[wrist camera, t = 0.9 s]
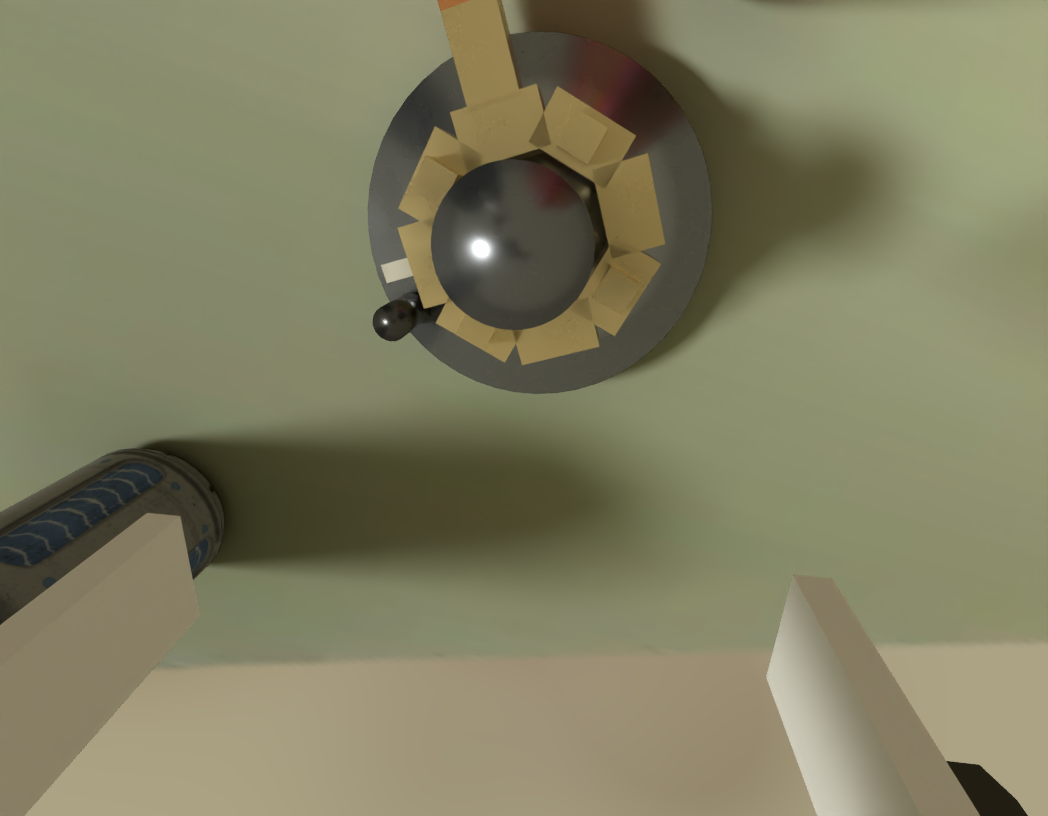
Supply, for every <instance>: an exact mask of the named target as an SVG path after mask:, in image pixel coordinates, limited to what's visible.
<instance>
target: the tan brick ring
mask: <svg viewBox="0 0 1048 816" xmlns="http://www.w3.org/2000/svg"><path fill="white" fill-rule="evenodd" d="M438 4H439V7H440V11H441V15H442V18H443V22H444V26H445V29H446V33H447V36H448V40H449V44H450V47H451V51H452V55H453V58H454V62H455V65H456V69H457V73H458V76H459V80H460V83H461V87H462V91H463V94H464V98H465V102H466V105H467V107H465V108H462V109H459V110H456V111H453V112H450V114H451V118H452V121H453V125H454V128H455V132H456V135H457V137H456V136H455V135H453V134H451V133H450V132H447V131H445V130H443V129H440V128H438V127H436V126H435V127H434V130H433V132H432V134H431V136H430V139H429V141H428V143H427V145H426V147H425V150H424V152H423V154H422V156H421V158H420V161H419V163H418V165H417V167H416V170H415V172H414V174H413V176H412V178H411V181H410V183H409V185H408V187H407V190H406V192H405V194H404V196H403V198H402V201H401V203H400V205H399V207H398V208H399V209H400V210H402V211H404V212H405V213H407V214H409V215H410V216H412V217H414V218H415V219H417V220H419V222H416V223H412V224H409V225H406V226H402V227H399V228H398V232H399V235H400V238H401V241H402V244H403V247H404V250H405V253H406V256H407V259H408V262H409V265H410V268H411V271H412V274H413V277H414V280H415V283H416V286H417V289H418V292H419V295H420V298H421V301H422V304H423V307H424V309H425V308H429V307H432V306H436V305H440V304H444V303H446V304H445V306H444V308H443V310H442V312H441V314H440V315H439V317H438V319H437V321H436V323H437V324H438V325H440V326H442V327H443V328H445V329H447V330H449V331H450V332H452V333H454V334H456V335H457V336H459V337H461V338H463V339H464V340H466V341H468V342H470V343H471V344H473V345H475V346H477V347H478V348H480V349H482V350H483V351H485V352H487V353H489V354H490V355H492V356H494V357H496V358H497V359H499V360H501V361H503V362H504V363H505V361H506V360H507V358H508V356H509V355H510V353H511V351H512V349H513V348H514V346H515V344H516V345H517V349H518V352H519V356H520V359H521V363H522V365H525V364H530V363H534V362H538V361H542V360H546V359H550V358H555V357H559V356H563V355H567V354H571V353H575V352H580V351H584V350H588V349H592V348H596V347H600V346H599V333H598V329H597V326H598V327H600V328H602V329H603V330H605V331H607V332H608V333H610V334H612V335H614V336H615V335H616V333H617V332H618V330H619V329H620V327H621V325H622V324H623V322H624V321H625V319H626V318H627V316H628V315H629V313H630V312H631V310H632V308H633V307H634V305H635V304H636V302H637V301H638V299H639V298H640V296H641V295H642V293H643V291H644V290H645V288H646V287H647V285H648V284H649V282H650V281H651V279H652V278H653V276H654V274H655V273H656V271H657V270H658V268H659V267H660V265H661V263H660V262H659V261H658V260H657V259H656V258H655V257H653V256H652V255H650V254H648V253H647V252H645V251H643V250H646V249H649V248H653V247H657V246H660V245H664V244H665V240H664V235H663V230H662V225H661V219H660V214H659V209H658V204H657V198H656V193H655V188H654V183H653V177H652V172H651V167H650V162H649V156H648V153H647V154H644V155H640V156H637V157H634V158H630V159H627V160H624V161H622V159H623V158H624V156H625V154H626V153H627V151H628V149H629V147H630V146H631V144H632V142H633V140H634V139H635V137H636V135H635V134H633V133H631V132H630V131H628V130H627V129H625V128H623V127H622V126H620V125H619V124H617V123H615V122H614V121H612V120H611V119H609V118H607V117H606V116H604V115H603V114H601V113H600V112H598V111H596V110H595V109H593V108H592V107H590V106H588V105H587V104H585V103H584V102H582V101H580V100H579V99H577V98H576V97H574V96H572V95H571V94H569V93H568V92H566V91H565V90H563V89H561V88H560V87H558V86H557V88H556V90H555V92H554V93H553V95H552V97H551V99H550V101H549V103H548V105H547V107H546V109H545V105H544V101H543V97H542V94H541V91H540V89H539V87H538V85H537V84H534V85H531V86H528V87H525V88H523V86H522V82H521V78H520V74H519V70H518V66H517V62H516V57H515V53H514V49H513V45H512V41H511V37H510V33H509V29H508V25H507V21H506V17H505V13H504V9H503V5H502V1H501V0H438ZM541 153H546V154H547V155H549V156H551V157H552V158H554V159H556V160H557V161H559V162H560V163H562V164H564V165H565V166H567V167H569V168H570V169H572V170H573V171H575V172H577V173H578V174H580V175H582V176H583V177H585V178H586V179H588V180H590V181H591V182H593V183H594V184H595V189H596V193H597V198H598V202H599V207H600V211H601V216H602V221H603V225H604V230H605V234H606V239H607V243H606V244H605V246H604V248H603V249H602V251H601V253H600V254H599V256H598V258H597V259H596V261H595V263H594V264H593V266H592V270H591V273H590V276H589V278H588V281H587V283H586V285H585V287H584V289H583V291H582V292H581V294H580V295H579V297H578V298H577V299H576V301H575V302H574V303H573V304H572V305H571V306H570V307H569V308H568V309H567V310H566V311H565V312H563V313H562V314H561V315H560V316H558V317H556V318H555V319H553V320H552V321H550V322H547V323H545V324H543V325H540V326H537V327H534V328H529V329H524V330H505V329H499V328H494V327H491V326H488V325H485V324H482V323H480V322H478V321H476V320H474V319H473V318H471V317H470V316H468V315H467V314H465V313H464V312H463V311H462V310H461V309H459V308H458V307H457V306H456V305H455V304H454V303H453V301H452V300H451V299H450V298H449V297H448V295H447V294H446V292H445V291H444V289H443V287H442V285H441V284H440V282H439V280H438V277H437V274H436V272H435V269H434V265H433V261H432V254H431V233H432V226H433V222H434V218H435V215H436V212H437V210H438V207H439V205H440V203H441V202H442V200H443V198H444V196H445V195H446V194H447V192H448V191H449V190H450V188H451V187H452V186H453V185H454V184H455V183H456V182H457V181H458V180H459V179H460V178H461V177H463V176H464V175H465V174H467V173H468V172H470V171H471V170H473V169H475V168H477V167H479V166H481V165H484V164H486V163H490V162H494V161H498V160H508V159H513V160H521V159H525V158H528V157H531V156H534V155H538V154H541Z"/></svg>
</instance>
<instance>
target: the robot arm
mask: <svg viewBox="0 0 1048 816" xmlns="http://www.w3.org/2000/svg"><path fill="white" fill-rule="evenodd" d="M199 617H200V613H199V608H198V603H197V598H196V593H195V588H194V583H193V578H192V573H191V568H190V563H189V558H188V553H187V548H186V543H185V538H184V533H183V528H182V523H181V518H180V516H174V515H164V514H154V513H146V514H145V515H144V516H142V517H141V518H140V519H139V520H137V521H136V522H135V523H133V524H132V525H131V526H129V527H128V528H127V529H125V530H124V531H123V532H121V533H120V534H119V535H118V536H116V537H115V538H114V539H112V540H111V541H110V542H108V543H107V544H106V545H104V546H103V547H102V548H100V549H99V550H98V551H97V552H95V553H94V554H93V555H91V556H90V557H89V558H87V559H86V560H85V561H83V562H82V563H81V564H80V565H78V566H77V567H76V568H74V569H73V570H72V571H70V572H69V573H68V574H66V575H65V576H64V577H62V578H61V579H60V580H59V581H57V582H56V583H55V584H53V585H52V586H51V587H49V588H48V589H47V590H45V591H44V592H43V593H41V594H40V595H39V596H38V597H36V598H35V599H34V600H32V601H31V602H30V603H28V604H27V605H26V606H24V607H23V608H22V609H21V610H19V611H18V612H17V613H15V614H14V615H13V616H11V617H10V618H9V619H7V620H6V621H5V622H3V623H2V624H1V625H0V816H24V815H25V814H26V813H27V812H28V811H29V810H30V809H31V808H32V806H33V805H34V804H35V803H36V802H37V801H38V800H39V798H40V797H41V796H42V795H43V794H44V793H45V792H46V791H47V789H48V788H49V787H50V786H51V785H52V784H53V783H54V781H55V780H56V779H57V778H58V777H59V776H60V775H61V773H62V772H63V771H64V770H65V769H66V768H67V767H68V765H69V764H70V763H71V762H72V761H73V760H74V759H75V758H76V756H77V755H78V754H79V753H80V752H81V751H82V749H83V748H84V747H85V746H86V745H87V744H88V743H89V742H90V740H91V739H92V738H93V737H94V736H95V735H96V734H97V733H98V731H99V730H100V729H101V728H102V727H103V725H105V723H106V722H107V721H108V720H109V719H110V718H111V717H112V716H113V714H114V713H115V712H116V711H117V710H118V709H119V708H120V706H121V705H122V704H123V703H124V702H125V701H126V699H127V698H128V697H129V696H130V695H131V694H132V693H133V692H134V690H135V689H136V688H137V687H138V686H139V685H140V684H141V683H142V681H143V680H144V679H145V678H146V677H147V676H148V674H149V673H150V672H151V671H152V670H153V669H154V668H155V667H156V666H157V664H158V663H159V662H160V661H161V660H162V659H163V658H164V656H165V655H166V654H167V653H168V652H169V651H170V650H171V648H172V647H173V646H174V645H175V644H176V643H177V642H178V641H179V639H180V638H181V637H182V636H183V635H184V634H185V633H186V631H187V630H188V629H189V628H190V627H191V626H192V625H193V623H194V622H195V621H196V620H197V619H198V618H199ZM766 678H767V680H768V683H769V686H770V689H771V691H772V694H773V697H774V700H775V702H776V705H777V708H778V710H779V713H780V716H781V718H782V721H783V724H784V727H785V729H786V732H787V735H788V737H789V740H790V743H791V746H792V748H793V751H794V754H795V757H796V759H797V762H798V765H799V767H800V770H801V773H802V776H803V778H804V781H805V784H806V787H807V789H808V792H809V795H810V797H811V800H812V803H813V805H814V808H815V811H816V814H817V816H1028V815H1027V814H1026V813H1025V811H1024V810H1023V808H1022V807H1021V805H1020V804H1019V802H1018V801H1017V800H1016V799H1015V798H1014V797H1013V796H1012V795H1011V794H1010V793H1009V792H1008V791H1007V790H1006V789H1004V788H1003V787H1002V786H1001V785H1000V784H999V783H998V782H997V781H996V780H995V779H994V778H993V777H992V776H991V775H989V774H988V773H987V772H986V771H985V770H984V769H983V768H982V767H981V766H980V765H976V764H967V763H958V762H950V761H946V760H945V759H944V757H943V756H942V754H941V752H940V751H939V749H938V747H937V746H936V744H935V743H934V741H933V739H932V738H931V736H930V735H929V733H928V731H927V730H926V728H925V727H924V725H923V724H922V722H921V720H920V719H919V717H918V715H917V714H916V712H915V711H914V709H913V707H912V706H911V704H910V703H909V701H908V699H907V698H906V696H905V694H904V693H903V691H902V690H901V688H900V686H899V685H898V683H897V682H896V680H895V678H894V677H893V675H892V674H891V672H890V670H889V669H888V667H887V666H886V664H885V662H884V661H883V659H882V658H881V656H880V654H879V653H878V651H877V650H876V648H875V646H874V645H873V643H872V642H871V640H870V638H869V637H868V635H867V634H866V632H865V630H864V629H863V627H862V626H861V624H860V622H859V621H858V619H857V618H856V616H855V614H854V613H853V611H852V610H851V608H850V606H849V605H848V603H847V601H846V600H845V598H844V597H843V595H842V593H841V592H840V590H839V589H838V587H837V585H836V584H835V582H834V581H833V579H832V578H822V577H812V576H801V575H793V578H792V582H791V585H790V589H789V593H788V597H787V601H786V604H785V608H784V612H783V616H782V620H781V623H780V627H779V631H778V635H777V639H776V642H775V646H774V650H773V654H772V657H771V661H770V665H769V669H768V673H767V677H766Z"/></svg>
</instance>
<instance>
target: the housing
mask: <svg viewBox="0 0 1048 816" xmlns="http://www.w3.org/2000/svg"><path fill="white" fill-rule="evenodd" d="M510 37H511V41H512V45H513V49H514V53H515V57H516V62H517V66H518V70H519V74H520V78H521V82H522V86H523V88H525V87H528V86H531V85H534V84H537V85H538V87H539V89H540V91H541V94H542V97H543V101H544V105H545V109H546V107H547V105H548V103H549V101H550V99H551V97H552V95H553V93H554V92H555V90H556V88H557V86H558V87H560V88H561V89H563V90H565V91H566V92H568V93H569V94H571V95H572V96H574V97H576V98H577V99H579V100H580V101H582V102H584V103H585V104H587V105H588V106H590V107H592V108H593V109H595V110H596V111H598V112H600V113H601V114H603V115H604V116H606V117H607V118H609V119H611V120H612V121H614V122H615V123H617V124H619V125H620V126H622V127H623V128H625V129H627V130H628V131H630V132H631V133H633V134H635V135H636V137H635V139H634V140H633V142H632V144H631V146H630V147H629V149H628V151H627V153H626V154H625V156H624V158H623V159H622V161H624V160H627V159H630V158H634V157H637V156H640V155H644V154H647V153H648V156H649V162H650V167H651V172H652V177H653V183H654V188H655V193H656V198H657V204H658V209H659V214H660V219H661V225H662V230H663V235H664V240H665V244H664V245H660V246H657V247H653V248H649V249H646V250H643V251H645V252H647V253H648V254H650V255H652V256H653V257H655V258H656V259H657V260H658V261H659V262H660V263H661V265H660V267H659V268H658V270H657V271H656V273H655V274H654V276H653V278H652V279H651V281H650V282H649V284H648V285H647V287H646V288H645V290H644V291H643V293H642V295H641V296H640V298H639V299H638V301H637V302H636V304H635V305H634V307H633V308H632V310H631V312H630V313H629V315H628V316H627V318H626V319H625V321H624V322H623V324H622V325H621V327H620V329H619V330H618V332H617V333H616V335H615V336H614V335H612V334H610V333H608V332H607V331H605V330H603V329H602V328H600V327H598V326H597V329H598V333H599V346H600V347H596V348H592V349H588V350H584V351H580V352H575V353H571V354H567V355H563V356H559V357H555V358H550V359H546V360H542V361H538V362H534V363H530V364H525V365H522V363H521V359H520V356H519V352H518V349H517V345H516V344H515V346H514V348H513V349H512V351H511V353H510V355H509V356H508V358H507V360H506V361H505V363H504V362H503V361H501V360H499V359H497V358H496V357H494V356H492V355H490V354H489V353H487V352H485V351H483V350H482V349H480V348H478V347H477V346H475V345H473V344H471V343H470V342H468V341H466V340H464V339H463V338H461V337H459V336H457V335H456V334H454V333H452V332H450V331H449V330H447V329H445V328H443V327H442V326H440V325H438V324H437V323H436V321H437V319H438V317H439V315H440V314H441V312H442V310H443V308H444V306H445V304H446V303H444V304H440V305H436V306H432V307H429V308H425V309H424V307H423V304H422V301H421V298H420V295H419V292H418V289H417V286H416V283H415V280H414V277H413V274H412V271H411V268H410V265H409V262H408V259H407V256H406V253H405V250H404V247H403V244H402V241H401V238H400V235H399V232H398V228H399V227H402V226H406V225H409V224H412V223H416V222H419V220H417V219H415V218H414V217H412V216H410V215H409V214H407V213H405V212H404V211H402V210H400V209H399V208H398V207H399V205H400V203H401V201H402V198H403V196H404V194H405V192H406V190H407V187H408V185H409V183H410V181H411V178H412V176H413V174H414V172H415V170H416V167H417V165H418V163H419V161H420V158H421V156H422V154H423V152H424V150H425V147H426V145H427V143H428V141H429V139H430V136H431V134H432V132H433V130H434V127H435V126H436V127H438V128H440V129H443V130H445V131H447V132H450V133H451V134H453V135H455V136H456V137H457V135H456V132H455V128H454V125H453V121H452V118H451V114H450V112H453V111H456V110H459V109H462V108H465V107H467V105H466V102H465V98H464V94H463V91H462V87H461V83H460V80H459V76H458V73H457V69H456V65H455V62H454V58H453V57H452V58H451V59H449V60H448V61H446V62H444V63H443V64H441V65H440V66H439V67H438V68H437V69H436V70H434V71H433V72H432V73H431V74H430V75H428V76H427V77H426V78H425V79H424V80H423V81H422V82H421V83H420V84H419V85H418V86H417V87H416V89H415V90H414V91H413V92H412V93H411V94H410V95H409V96H408V97H407V99H406V100H405V102H404V103H403V105H402V106H401V108H400V109H399V111H398V112H397V114H396V115H395V116H394V118H393V120H392V122H391V124H390V126H389V128H388V130H387V132H386V134H385V136H384V138H383V140H382V143H381V146H380V149H379V151H378V154H377V157H376V160H375V163H374V168H373V173H372V178H371V182H370V189H369V201H368V226H369V237H370V243H371V249H372V255H373V258H374V262H375V266H376V269H377V273H378V276H379V278H380V281H381V283H382V286H383V288H384V290H385V293H386V295H387V297H388V299H389V301H390V302H389V303H388V304H386V305H384V306H382V307H380V308H379V309H378V310H377V311H376V312H375V314H374V316H373V326H374V329H375V331H376V333H377V334H378V335H379V336H380V337H381V338H383V339H385V340H388V341H397V340H399V339H401V338H403V337H404V336H405V335H406V334H408V333H409V332H411V333H412V335H413V336H414V337H415V338H416V339H417V340H418V341H419V342H420V343H421V344H422V345H423V346H424V347H425V348H426V349H427V350H428V351H429V352H431V353H432V354H433V355H434V356H435V357H437V358H438V359H439V360H440V361H442V362H443V363H445V364H446V365H448V366H449V367H451V368H452V369H454V370H455V371H457V372H459V373H461V374H463V375H465V376H467V377H469V378H471V379H473V380H475V381H477V382H480V383H483V384H486V385H489V386H492V387H495V388H499V389H504V390H508V391H513V392H521V393H533V394H542V393H559V392H565V391H571V390H577V389H580V388H583V387H587V386H590V385H594V384H597V383H599V382H601V381H603V380H606V379H608V378H610V377H613V376H615V375H617V374H618V373H620V372H622V371H623V370H625V369H627V368H628V367H630V366H632V365H633V364H635V363H636V362H637V361H639V360H640V359H641V358H642V357H644V356H645V355H646V354H648V353H649V352H650V351H651V350H652V349H653V348H654V347H655V346H656V345H657V344H658V343H659V342H660V341H661V340H662V339H663V338H664V337H665V336H666V335H667V334H668V333H669V331H670V330H671V329H672V327H673V326H674V325H675V324H676V322H677V321H678V320H679V318H680V317H681V315H682V313H683V312H684V310H685V308H686V307H687V305H688V303H689V302H690V300H691V298H692V296H693V294H694V291H695V289H696V287H697V285H698V282H699V280H700V278H701V275H702V271H703V268H704V265H705V261H706V258H707V254H708V248H709V242H710V236H711V226H712V199H711V189H710V180H709V176H708V172H707V167H706V163H705V158H704V155H703V153H702V150H701V147H700V145H699V142H698V139H697V137H696V134H695V132H694V130H693V129H692V127H691V125H690V123H689V121H688V119H687V117H686V116H685V114H684V112H683V110H682V109H681V108H680V106H679V105H678V104H677V102H676V101H675V100H674V98H673V97H672V96H671V94H670V93H669V92H668V90H667V89H666V88H665V87H664V86H663V85H662V84H661V83H660V82H659V81H658V80H657V79H656V78H655V77H654V76H653V75H652V74H651V73H650V72H648V71H647V70H646V69H644V68H643V67H642V66H640V65H639V64H638V63H636V62H635V61H634V60H632V59H631V58H629V57H628V56H626V55H624V54H622V53H620V52H618V51H616V50H615V49H613V48H611V47H609V46H607V45H604V44H601V43H599V42H596V41H593V40H590V39H587V38H585V37H580V36H575V35H570V34H564V33H559V32H526V33H517V34H510ZM606 243H607V239H606V234H605V230H604V225H603V221H602V216H601V211H600V207H599V202H598V198H597V193H596V189H595V184H594V183H593V182H591V181H590V180H588V179H586V178H585V177H583V176H582V175H580V174H578V173H577V172H575V171H573V170H572V169H570V168H569V167H567V166H565V165H564V164H562V163H560V162H559V161H557V160H556V159H554V158H552V157H551V156H549V155H547V154H546V153H541V154H538V155H534V156H531V157H528V158H525V159H521V160H513V159H508V160H498V161H494V162H490V163H486V164H484V165H481V166H479V167H477V168H475V169H473V170H471V171H470V172H468V173H467V174H465V175H464V176H463V177H461V178H460V179H459V180H458V181H457V182H456V183H455V184H454V185H453V186H452V187H451V188H450V190H449V191H448V192H447V194H446V195H445V196H444V198H443V200H442V202H441V203H440V205H439V207H438V210H437V212H436V215H435V218H434V222H433V226H432V233H431V254H432V261H433V265H434V269H435V272H436V274H437V277H438V280H439V282H440V284H441V285H442V287H443V289H444V291H445V292H446V294H447V295H448V297H449V298H450V299H451V300H452V301H453V303H454V304H455V305H456V306H457V307H458V308H459V309H461V310H462V311H463V312H464V313H465V314H467V315H468V316H470V317H471V318H473V319H474V320H476V321H478V322H480V323H482V324H485V325H488V326H491V327H494V328H499V329H505V330H524V329H529V328H534V327H537V326H540V325H543V324H545V323H547V322H550V321H552V320H553V319H555V318H556V317H558V316H560V315H561V314H562V313H563V312H565V311H566V310H567V309H568V308H569V307H570V306H571V305H572V304H573V303H574V302H575V301H576V299H577V298H578V297H579V295H580V294H581V292H582V291H583V289H584V287H585V285H586V283H587V281H588V278H589V276H590V273H591V270H592V266H593V264H594V263H595V261H596V259H597V258H598V256H599V254H600V253H601V251H602V249H603V248H604V246H605V244H606Z"/></svg>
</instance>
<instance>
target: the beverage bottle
mask: <svg viewBox="0 0 1048 816" xmlns="http://www.w3.org/2000/svg"><path fill="white" fill-rule="evenodd" d="M210 486H211V485H210V483H209V482H208V481H207V480H206V478H205V477H204V476H203V475H202V474H201V473H199V472H198V471H197V470H196V469H195V468H194V467H192V466H191V465H189V464H188V463H187V462H185V461H184V460H182V459H180V458H177V457H175V456H173V455H170V456H168V453H165V452H161V451H157V450H148V449H122V450H117V451H114V452H111V453H108V454H106V455H104V456H102V457H100V458H99V459H97V460H95V461H93V462H91V463H90V464H88V465H86V466H84V467H82V468H80V469H79V470H77V471H75V472H73V473H71V474H69V475H68V476H66V477H64V478H62V479H60V480H58V481H57V482H55V483H53V484H51V485H49V486H47V487H46V488H44V489H42V490H40V491H38V492H36V493H35V494H33V495H31V496H29V497H27V498H25V499H24V500H22V501H20V502H18V503H16V504H14V505H13V506H11V507H9V508H7V509H5V510H3V511H2V512H0V625H1V624H2V623H3V622H5V621H6V620H7V619H9V618H10V617H11V616H13V615H14V614H15V613H17V612H18V611H19V610H21V609H22V608H23V607H24V606H26V605H27V604H28V603H30V602H31V601H32V600H34V599H35V598H36V597H38V596H39V595H40V594H41V593H43V592H44V591H45V590H47V589H48V588H49V587H51V586H52V585H53V584H55V583H56V582H57V581H59V580H60V579H61V578H62V577H64V576H65V575H66V574H68V573H69V572H70V571H72V570H73V569H74V568H76V567H77V566H78V565H80V564H81V563H82V562H83V561H85V560H86V559H87V558H89V557H90V556H91V555H93V554H94V553H95V552H97V551H98V550H99V549H100V548H102V547H103V546H104V545H106V544H107V543H108V542H110V541H111V540H112V539H114V538H115V537H116V536H118V535H119V534H120V533H121V532H123V531H124V530H125V529H127V528H128V527H129V526H131V525H132V524H133V523H135V522H136V521H137V520H139V519H140V518H141V517H142V516H144V515H145V514H146V513H154V514H164V515H174V516H180V518H181V523H182V528H183V533H184V538H185V543H186V548H187V553H188V558H189V563H190V568H191V573H192V578H193V580H194V579H195V578H196V577H197V576H198V575H199V574H200V573H201V572H202V571H203V570H204V569H205V568H206V567H207V566H208V565H209V564H210V563H211V562H212V561H213V560H214V558H215V557H216V555H217V554H218V552H219V549H220V546H221V543H222V539H223V531H224V514H223V509H222V506H221V503H220V500H219V498H218V496H217V494H216V492H215V491H214V490H213V491H210V489H209V487H210Z"/></svg>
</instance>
